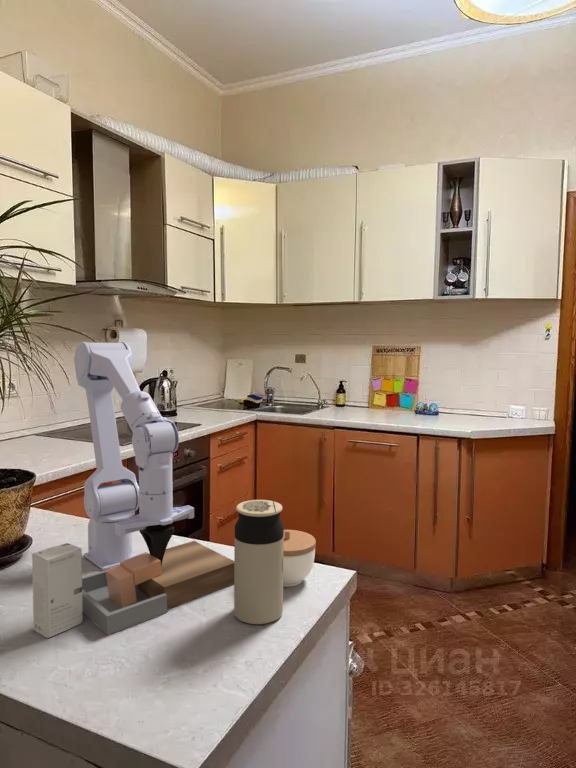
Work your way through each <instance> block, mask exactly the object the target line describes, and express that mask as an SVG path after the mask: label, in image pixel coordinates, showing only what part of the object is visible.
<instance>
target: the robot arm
mask: <svg viewBox="0 0 576 768" xmlns="http://www.w3.org/2000/svg"><path fill="white" fill-rule="evenodd" d="M73 361H74V370H75V376H76V380H77V385H78V386H79V387H82V388H83V389H85V395H86V398H87V399H86V400H87V407H88V414H89V415H88V416H89V422H90V430H91V437H92V442H93V443H92V444H93V445H92V446H93V451H94V457H95V465H96V466H95V467H96V470H95V471H94V472H93V473H92V474H91V475H90V476H89V477H88V478H87V479H86V480H85V482H84V487H83V488H84V497H83V506H84V510H85V513H86V515H87V516H88V517H89V518H90V519H89V521H88V524H87V548H88V549H87V550H88V552H85V553H83V556H84V557H85V558H86V559H87V560H89V561H90V562H92V564H94V565H95V566H97V567H98V568H99V569H101V570H102V571H104V570H108V569H110V568H113V567H115V566H117V565H120V562H121V561H124V560H127V559H129V558H132V557H134V556H137V555H138V554H137V553H135V552H133V533H134V532H139V533H140V534H141V537H142V538H143V541H144V542H145V544H146V546H147V549H148V552H149V554H150V555H152V556H154V557H155V558H157V559H159V560H161V566H162V561H163V557H164V553H165V550H166V549H167V548H168V547H167V546H168V545H169V542H170V540H171V538H172V536H173V535H174V534H175V526H174V525H172V524H173V522H177V521H182V520H185V519H189V520H190V519H194V518H195V507H193V506H191V505H189V504H188V505H183V506H176V507H173V506H174V503H173V501H174V497H173V495H174V494H173V491H174V490H173V483H174V482H173V453H175V452H176V451H177V450H178V448H179V443H180V435H179V434H180V433H179V431H178V428H177V425H176V424H175V422H174V421H173V420H171V419H168V418H167V417H166V416H162V414H161V413H160V411H159V409H158V407H157V405H156V403H155V401H154V400H153V398H152V397H151V395H150V394H149V392H146V391H144V390H143V391H142V390H141V388H140V386H139V384H138V381H137V379H136V377H135V375H134V373H133V369H132V365H133V352H132V349H131V347H130V345H129V344H128V343H127V342H126V341H121V342H87V341H81V342H79V343H78V344H77V346H76V347H75V351H74V357H73ZM113 389H115V391H116V392H117V393H118V395H119V397H120V398H121V403H120V411H121V412H122V414H123V416H124V419H125V420H126V422H127V424H128V426H129V428H130V430H131V432H132V437H131V444H132V449H133V452H134V456H135V457H134V459H135V465H136V466H138V482H137V478H136V477H137V476H136V474H135V473H134V472H133V471H131V470H130V469H128V468H126V467H124V465H123V461H122V454H121V447H120V441H119V434H118V433H119V432H118V427H117V419H116V413H115V407H114V398H113V392H112V391H113ZM111 482H116V483H111ZM104 483H105V484H104ZM106 483H110V484H106ZM102 484H104V485H102ZM137 510H139V513H138V514H136V511H137ZM135 514H136V515H135Z"/></svg>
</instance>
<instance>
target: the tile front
mask: <svg viewBox="0 0 576 768" xmlns="http://www.w3.org/2000/svg"><path fill="white" fill-rule="evenodd" d="M106 578H107V585H108V592H109V598H111V599H112V600H113V601H114V602H116V603H117V604H118V605H119V606H121V607H122V608H124V607H127V606H129V605H131V604H133V603H135V602H137V600H136V592H135V585H134V577H133V574H132V573H131V572H129V571H128V570H126V569H125V568H123V567H122V566H120V565H117V566H115V567H113V568H109V569H106Z"/></svg>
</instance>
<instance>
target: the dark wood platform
mask: <svg viewBox="0 0 576 768" xmlns="http://www.w3.org/2000/svg"><path fill="white" fill-rule="evenodd" d="M161 570H162V574H161V575H159V576H156V577H154V578H151V579H149V580H147V581H145V582H142V583H140V584H138V585H135V588H137V589H138V590H140V591H141V592H142V593H144V594H145V595H147V596H148V597H149V598H152V597H155V596H158V595H161V594H163V593H165V594H166V595H167V611H168V610H171V609H173V608H175V607H178V606H180V604H181V605H183V604H186V603H188V601H189V602H191V601H194V600H196V599H199V598H201V597H204V596H206V595H209V594H212V593H214V592H217V591H220V590H222V589H225V588H228V587H230V586H233V585H234V559H231V558H229V557H227V556H226V555H223V554H221V553H220V552H217V551H215V550H213V549H211V548H209V547H207V546H205V545H203V544H201V543H199V542H197V541H195V540H191V541H189V542H186V543H181V544H179V545H175V546H172V547H167V548H166V550H165V553H164V557H163V561H162V566H161ZM185 602H186V603H185ZM172 607H173V608H172Z"/></svg>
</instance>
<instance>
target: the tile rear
mask: <svg viewBox="0 0 576 768" xmlns="http://www.w3.org/2000/svg"><path fill="white" fill-rule="evenodd" d="M120 566H122V567H123V568H125V569H126V570H128V571H129V572H131V573H132V574H133V577H134V585H138V584H140V583H142V582H145V581H147V580H149V579H151V578H154V577H156V576H159V575H161V574H162V570H161V560H159V559H157V558H155V557H154V556H152V555H150V553H148V552H147V551H146V552H142V553H140V554H137V556H134V557H132V558H129V559H127V560H124V561H121V562H120Z"/></svg>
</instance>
